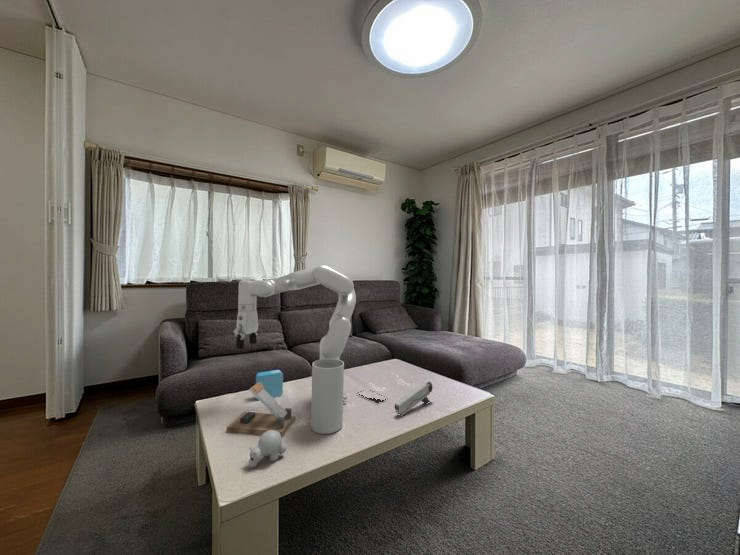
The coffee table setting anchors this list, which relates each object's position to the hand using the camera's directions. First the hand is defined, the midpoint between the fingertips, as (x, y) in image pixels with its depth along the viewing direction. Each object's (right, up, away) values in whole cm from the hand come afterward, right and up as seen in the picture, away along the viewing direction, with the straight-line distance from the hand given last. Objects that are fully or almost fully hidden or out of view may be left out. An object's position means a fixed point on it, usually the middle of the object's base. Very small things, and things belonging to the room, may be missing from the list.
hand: (246, 345), depth 125 cm
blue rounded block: (+6, -28, +12) cm, 31 cm away
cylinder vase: (+38, -29, -14) cm, 50 cm away
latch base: (+13, -28, -15) cm, 34 cm away
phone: (+56, -30, +14) cm, 65 cm away
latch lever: (+15, -18, -16) cm, 29 cm away
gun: (+76, -30, +3) cm, 82 cm away
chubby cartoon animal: (+22, -28, -35) cm, 50 cm away
